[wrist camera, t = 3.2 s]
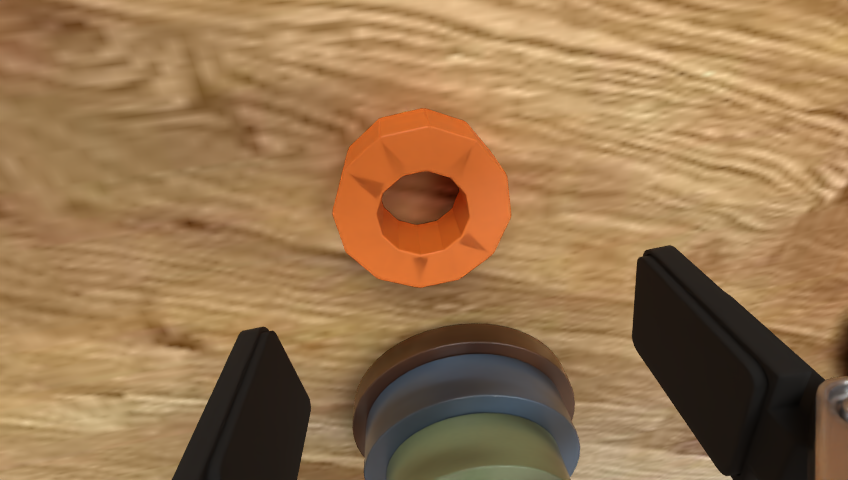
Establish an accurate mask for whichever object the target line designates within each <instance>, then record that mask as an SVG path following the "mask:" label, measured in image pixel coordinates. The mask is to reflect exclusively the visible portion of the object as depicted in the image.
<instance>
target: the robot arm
mask: <svg viewBox="0 0 848 480" xmlns="http://www.w3.org/2000/svg"><path fill="white" fill-rule="evenodd" d="M632 339H633V343H634V346H635V348H636V350H637V352H638V353H639V355H640V356H641V358H642V359H643V361H644V362H645V363H646V365H647V366H648V368H649V369H650V371H651V372H652V374H653V375H654V377H655V378H656V380H657V381H658V382H659V384H660V385H661V387H662V388H663V390H664V391H665V393H666V394H667V396H668V397H669V399H670V400H671V401H672V403H673V404H674V406H675V407H676V409H677V410H678V412H679V413H680V415H681V416H682V418H683V419H684V420H685V422H686V423H687V425H688V426H689V428H690V429H691V431H692V432H693V434H694V435H695V437H696V438H697V439H698V441H699V442H700V444H701V445H702V447H703V448H704V450H705V451H706V453H707V454H708V456H709V457H710V458H711V460H712V461H713V463H714V464H715V466H716V467H717V469H718V470H719V471H720V472H721V473H722V474H723V475H725V476H731V477H732V479H733V480H848V377H834V378H831V379H827V380H825V379H823V378H822V377H821V376H820V375H819V374H818V373H817V372H816V371H815V370H813V369H812V368H811V367H810V366H809V365H808V364H807V363H806V362H804V361H803V360H802V359H801V358H800V357H799V356H798V355H797V354H795V353H794V352H793V351H792V350H791V349H790V348H789V347H788V346H786V345H785V344H784V343H783V342H782V341H781V340H780V339H779V338H777V337H776V336H775V335H774V334H773V333H772V332H771V331H770V330H768V329H767V328H766V327H765V326H764V325H763V324H762V323H761V322H759V321H758V320H757V319H756V318H755V317H754V316H753V315H752V314H750V313H749V312H748V311H747V310H746V309H745V308H744V307H743V306H741V305H740V304H739V303H738V302H737V301H736V300H735V299H734V298H733V297H731V296H730V295H728V294H727V293H726V292H724V291H723V290H722V289H721V288H720V287H718V286H717V285H716V284H715V283H714V282H713V281H712V280H711V279H710V278H708V277H707V276H706V275H705V274H704V273H703V272H702V271H701V270H699V269H698V268H697V267H696V266H695V265H694V264H693V263H692V262H691V261H689V260H688V259H687V258H686V257H685V256H684V255H683V254H682V253H680V252H679V251H678V250H677V249H676V248H675V247H673V246H670V245H669V246H664V247H659V248H654V249H649V250H646V251H645V252H644V254H643V257H640V258H638V260H637V271H636V286H635V300H634V315H633V330H632ZM310 412H311V404H310V399H309V397H308V395H307V393H306V391H305V389H304V387H303V385H302V383H301V381H300V379H299V377H298V375H297V373H296V371H295V369H294V367H293V366H292V364H291V362H290V360H289V358H288V356H287V354H286V352H285V350H284V348H283V346H282V344H281V342H280V340H279V338H278V336H277V334H276V333H275V332H274V331H269V330H268V329H267V328H266V327H260V328H255V329H250V330H245V331H242V332H241V333H240V334H239V336H238V338H237V340H236V342H235V344H234V347H233V349H232V351H231V353H230V355H229V357H228V360H227V362H226V364H225V366H224V368H223V370H222V373H221V375H220V377H219V379H218V381H217V383H216V386H215V388H214V390H213V392H212V394H211V396H210V398H209V400H208V403H207V405H206V407H205V409H204V411H203V414H202V416H201V418H200V420H199V422H198V424H197V427H196V429H195V431H194V433H193V435H192V437H191V440H190V442H189V444H188V446H187V448H186V450H185V453H184V455H183V457H182V459H181V461H180V463H179V466H178V468H177V470H176V472H175V474H174V476H173V479H172V480H297V476H298V472H299V467H300V462H301V457H302V452H303V447H304V442H305V437H306V432H307V427H308V422H309V417H310Z"/></svg>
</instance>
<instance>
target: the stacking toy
mask: <svg viewBox="0 0 848 480" xmlns="http://www.w3.org/2000/svg"><path fill="white" fill-rule="evenodd" d="M574 406H575V400H574V393H573V390H572V387H571V384H570V382H569V380H568V378H567V376H566V373H565V371H564V369H563V367H562V365H561V364H560V362H559V360H558V359H557V357H556V356H555V355H554V354H553V352H552V351H551V350H550V349H549V348H547V347H546V346H545V345H544V344H543V343H541V342H540V341H538V340H537V339H535V338H533V337H531V336H530V335H527V334H525V333H523V332H520V331H518V330H514V329H511V328H507V327H503V326H497V325H490V324H459V325H452V326H446V327H441V328H437V329H433V330H429V331H426V332H423V333H421V334H418V335H415V336H413V337H411V338H409V339H407V340H405V341H403V342H401V343H399V344H397V345H396V346H394V347H393V348H391V349H390V350H388V351H387V352H386V353H384V354H383V355H382V356H381V357H380V358H378V359H377V360H376V361H375V362H374V363H373V365H372V366H371V367H370V368H369V369H368V371H367V372H366V373H365V375H364V376H363V378H362V380H361V382H360V384H359V386H358V388H357V392H356V395H355V400H354V413H353V427H352V428H353V435H354V439H355V442H356V445H357V447H358V449H359V450H360V452H361V454H362V455H363V456H364V458H365V459H364V478H365V480H571V479H570V477H571V475H572V474H573V472H574V470H575V468H576V466H577V463H578V460H579V455H580V443H579V438H578V435H577V432H576V430H575V427H574V425H573V423H572V418H573V415H574Z"/></svg>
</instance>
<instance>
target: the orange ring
mask: <svg viewBox="0 0 848 480" xmlns="http://www.w3.org/2000/svg"><path fill="white" fill-rule="evenodd" d="M423 171H429V172H432V173H436V174H439V175H442V176H446V177H449V178H451V179H452V180H453V181H454V183H455V184H456V185H457V186H458V187H459V192H458V195H457V197H456V200H455V202H454V205H453V207H452V209H451V210H450V211H448V212H447V213H446V214H445V215H443V216H442V217H441V218H440V219H439V220H437V221H433V222H428V223H424V224H419V225H414V224H411V223H407V222H403V221H399V220H397V219H396V218H395V217H394V216H393V215H392V214H391V213H390V212H389V211H387V210H386V209H385V208H384V207H383V203H382V200H381V199H382V196H383V193H384V192H385V191H386V190H387V189H388V188H389V187H391V186H392V185H393V184H394V183H395V182H396V181H397V180H398V179H400V178H401V177H402V176H405V175H410V174H414V173H419V172H423ZM332 215H333V217H334V220H335V223H336V226H337V229H338V231H339V234H340V237H341V240H342V243H343V246H344V248H345V251H346V252H347V254H348V255H350V256H351V257H352V258H353V259H354V260H356V261H357V262H358V263H359V264H360V265H362V266H363V267H364V268H365V269H366V270H368V271H369V272H370V273H371V274H373V275H374V276H375V277H376V278H379V279H381V280H385V281H390V282H394V283H399V284H403V285H408V286H412V287H417V288H418V287H419V288H422V287H427V286H431V285H436V284H441V283H445V282H450V281H455V280H459V279H460V278H462V277H463V276H465V275H466V274H467V273H469V272H470V271H471V270H473V269H474V268H475V267H477V266H478V265H479V264H481V263H482V262H483V261H485V260H486V259H487V258H489V257H490V256H491V255H492V254H493V253H494V252H495V250H496V248H497V246H498V243H499V241H500V239H501V237H502V235H503V233H504V231H505V229H506V227H507V225H508V222H509V220H510V218H511V208H510V199H509V189H508V180H507V175H506V173H505V172H504V170H503V169H502V167H501V166H500V164H499V163H498V161H497V160H496V158H495V157H494V155H493V154H492V153H491V151H490V150H489V149H488V148H487V146H486V145H485V144H484V143H483V142H482V140H481V139H480V138H479V137H478V136H477V134H476V133H475V132H474V131H473V130H472V128H471V127H470V126H469V125H468V124H467V123H466V122H465V121H463V120H460V119H456V118H453V117H450V116H447V115H444V114H441V113H438V112H435V111H432V110H429V109H426V108H425V109H423V108H421V109H417V110H413V111H408V112H404V113H399V114H395V115H391V116H386V117H382V118H379V119H378V120H377V121H376V122H375V123H374V124H373V125H372V126H371V127H370V128H369V129H368V130H367V131H365V132H364V133H363V134H362V135H361V136H360V137H359V138H358V139H357V140H356V141H355V142H354V143H353V144H352V145H351V146H350V147H349V149H348V152H347V156H346V160H345V164H344V168H343V171H342V175H341V179H340V183H339V187H338V191H337V195H336V199H335V203H334V207H333V214H332Z"/></svg>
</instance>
